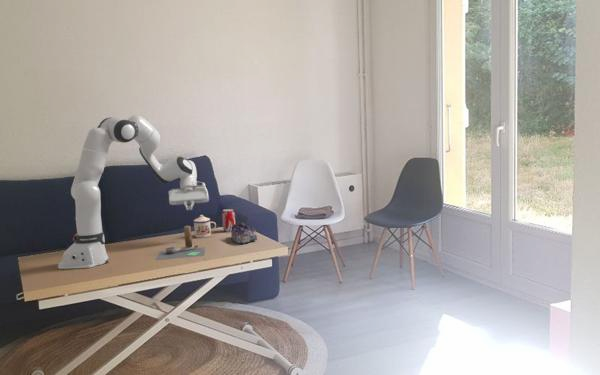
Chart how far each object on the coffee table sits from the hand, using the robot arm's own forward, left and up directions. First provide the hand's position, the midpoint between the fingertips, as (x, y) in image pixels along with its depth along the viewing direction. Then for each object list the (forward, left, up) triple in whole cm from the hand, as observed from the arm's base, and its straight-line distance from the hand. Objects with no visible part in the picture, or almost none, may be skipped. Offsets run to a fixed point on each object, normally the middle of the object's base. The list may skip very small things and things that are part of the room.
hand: (189, 209), depth 294 cm
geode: (+25, 0, -19) cm, 32 cm away
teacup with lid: (+6, +19, -19) cm, 27 cm away
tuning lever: (-4, -19, -17) cm, 26 cm away
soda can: (+19, +26, -19) cm, 37 cm away
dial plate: (-4, -23, -18) cm, 30 cm away
